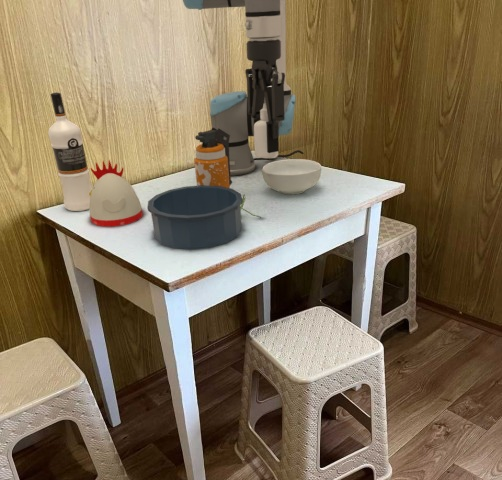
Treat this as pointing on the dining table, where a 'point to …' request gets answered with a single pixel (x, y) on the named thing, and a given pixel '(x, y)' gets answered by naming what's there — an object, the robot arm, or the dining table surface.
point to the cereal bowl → (291, 175)
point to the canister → (213, 159)
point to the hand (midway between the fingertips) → (266, 149)
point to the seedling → (244, 209)
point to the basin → (196, 216)
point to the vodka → (70, 159)
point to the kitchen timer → (113, 199)
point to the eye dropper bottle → (262, 136)
